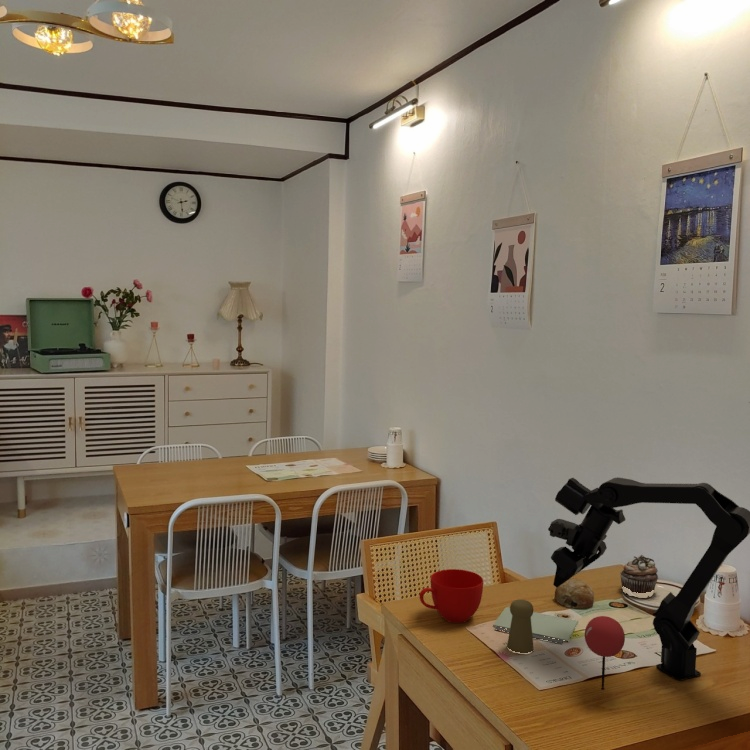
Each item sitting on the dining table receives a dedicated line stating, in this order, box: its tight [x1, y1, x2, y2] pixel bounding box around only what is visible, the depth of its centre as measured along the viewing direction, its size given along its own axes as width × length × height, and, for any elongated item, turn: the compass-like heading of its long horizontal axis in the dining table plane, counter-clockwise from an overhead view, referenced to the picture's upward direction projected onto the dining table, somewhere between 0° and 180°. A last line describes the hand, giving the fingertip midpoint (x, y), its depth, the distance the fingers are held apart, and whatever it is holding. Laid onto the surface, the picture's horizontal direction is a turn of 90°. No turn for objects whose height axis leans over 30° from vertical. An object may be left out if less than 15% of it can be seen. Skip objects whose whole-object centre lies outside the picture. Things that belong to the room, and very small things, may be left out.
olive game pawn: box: [506, 599, 535, 653], centre depth 169 cm, size 6×6×11 cm
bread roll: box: [554, 577, 595, 609], centre depth 196 cm, size 10×10×8 cm
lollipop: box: [584, 615, 626, 690], centre depth 152 cm, size 8×8×15 cm
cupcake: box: [619, 554, 659, 593], centre depth 203 cm, size 10×10×10 cm
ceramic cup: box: [419, 568, 484, 624], centre depth 184 cm, size 13×17×10 cm
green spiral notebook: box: [492, 606, 579, 642], centre depth 182 cm, size 18×12×1 cm, turn 64°
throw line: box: [494, 627, 564, 644], centre depth 176 cm, size 16×2×1 cm, turn 64°
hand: (563, 580), depth 175 cm, fingers open, 9 cm apart
